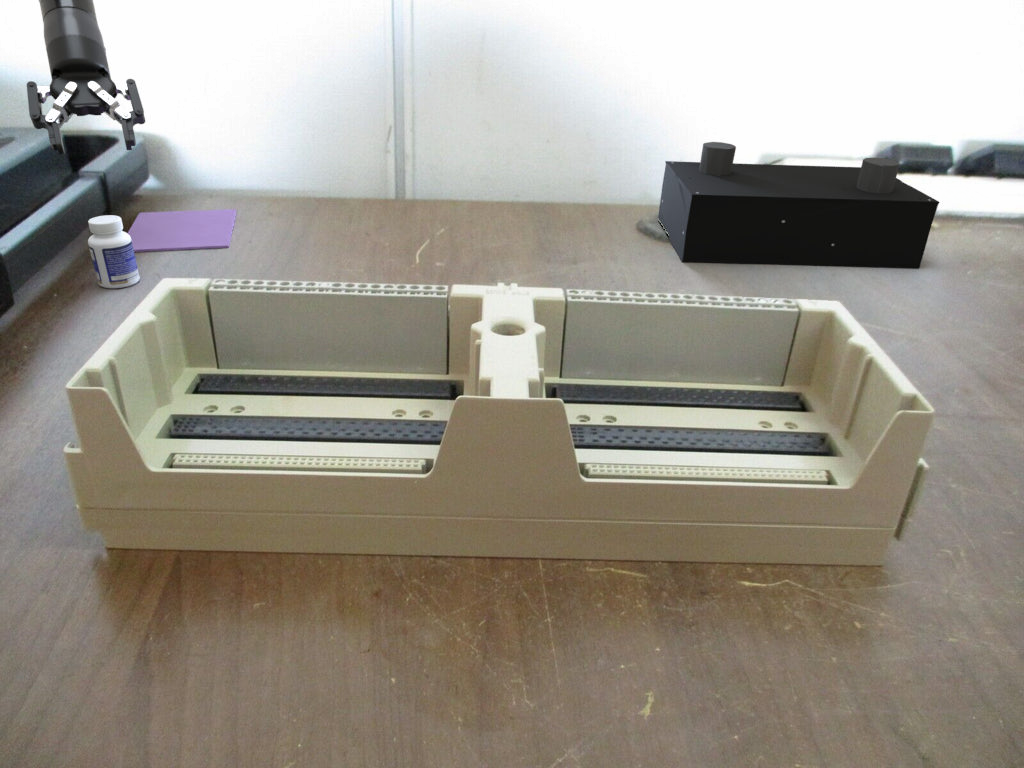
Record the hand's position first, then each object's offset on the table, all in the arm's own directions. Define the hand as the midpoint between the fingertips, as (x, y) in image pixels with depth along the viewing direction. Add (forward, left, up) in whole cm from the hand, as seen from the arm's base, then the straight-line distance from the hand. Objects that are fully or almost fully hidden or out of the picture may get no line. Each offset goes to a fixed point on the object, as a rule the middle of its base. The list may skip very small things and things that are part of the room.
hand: (95, 149), depth 107 cm
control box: (+105, -8, -16) cm, 107 cm away
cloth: (+7, +12, -16) cm, 21 cm away
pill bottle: (+2, -11, -16) cm, 19 cm away
